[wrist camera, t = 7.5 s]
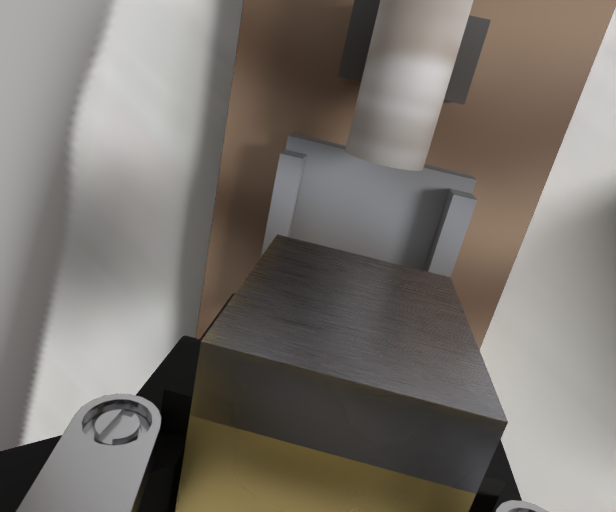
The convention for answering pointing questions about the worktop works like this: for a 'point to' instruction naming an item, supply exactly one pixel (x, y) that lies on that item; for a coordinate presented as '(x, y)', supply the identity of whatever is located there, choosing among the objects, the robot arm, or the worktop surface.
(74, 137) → the worktop surface
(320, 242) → the rig
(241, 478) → the coupler
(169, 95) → the worktop surface
